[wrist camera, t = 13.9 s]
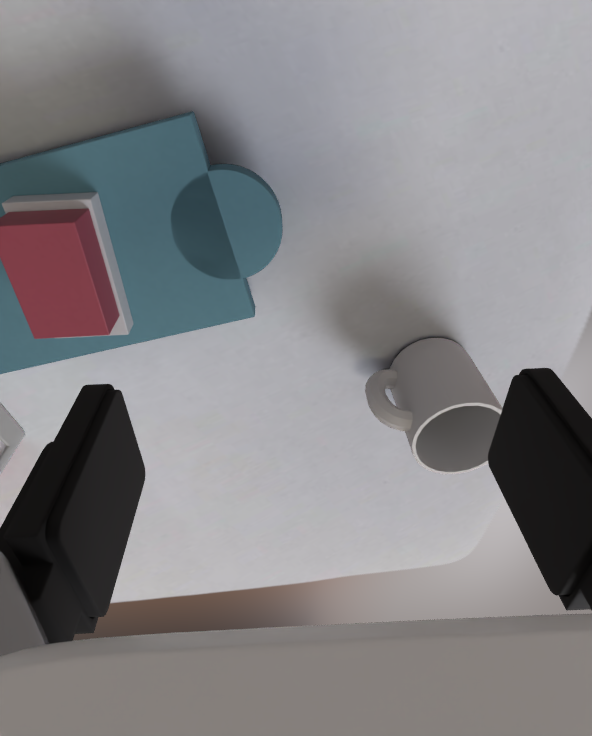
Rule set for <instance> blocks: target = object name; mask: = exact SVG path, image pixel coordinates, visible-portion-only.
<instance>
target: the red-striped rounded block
mask: <svg viewBox="0 0 592 736" xmlns="http://www.w3.org/2000/svg"><path fill="white" fill-rule="evenodd" d="M24 435H25V432H24V430H23V429H22V428H21V427H20V426H19V425H18V423H17V422H16V421H15V420H14V419H13V418H12V416H11V415H10V414H9V413H8V412H7V410H6V409H5V408H4V407H3V406H2V405H1V403H0V474H1V473H2V471H3V470H4V468H5V466H6V465H7V463H8V461H9V460H10V458H11V457H12V455H13V453H14V452H15V450H16V448H17V447H18V445H19V444H20V442H21V440H22V439H23V437H24Z"/></svg>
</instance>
